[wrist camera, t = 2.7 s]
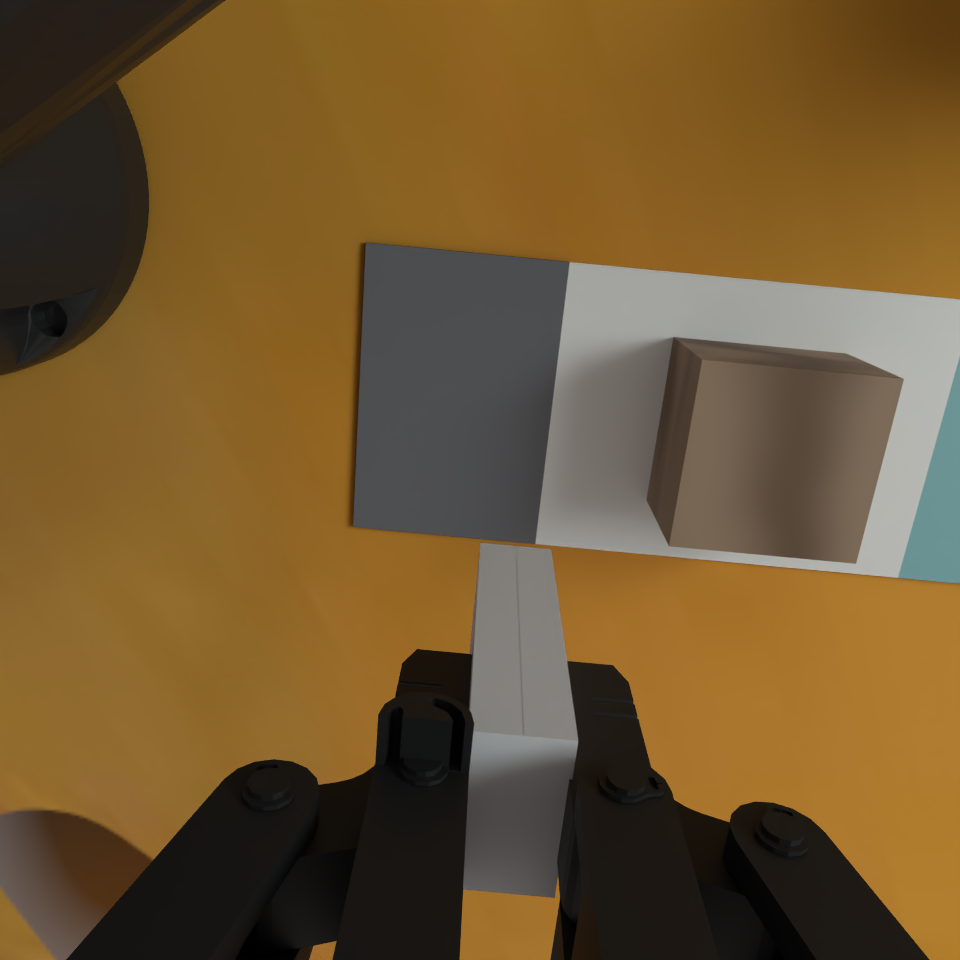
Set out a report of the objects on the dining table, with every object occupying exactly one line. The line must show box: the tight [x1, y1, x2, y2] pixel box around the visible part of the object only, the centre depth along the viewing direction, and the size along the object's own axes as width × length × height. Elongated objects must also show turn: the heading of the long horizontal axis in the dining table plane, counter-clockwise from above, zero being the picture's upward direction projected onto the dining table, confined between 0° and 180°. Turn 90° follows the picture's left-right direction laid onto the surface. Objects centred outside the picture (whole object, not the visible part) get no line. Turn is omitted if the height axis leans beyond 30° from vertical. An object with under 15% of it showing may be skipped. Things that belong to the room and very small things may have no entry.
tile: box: [535, 262, 960, 578], centre depth 35 cm, size 16×12×1 cm
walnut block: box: [646, 337, 904, 564], centre depth 32 cm, size 7×7×5 cm
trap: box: [353, 243, 570, 544], centre depth 35 cm, size 8×12×1 cm, turn 175°
